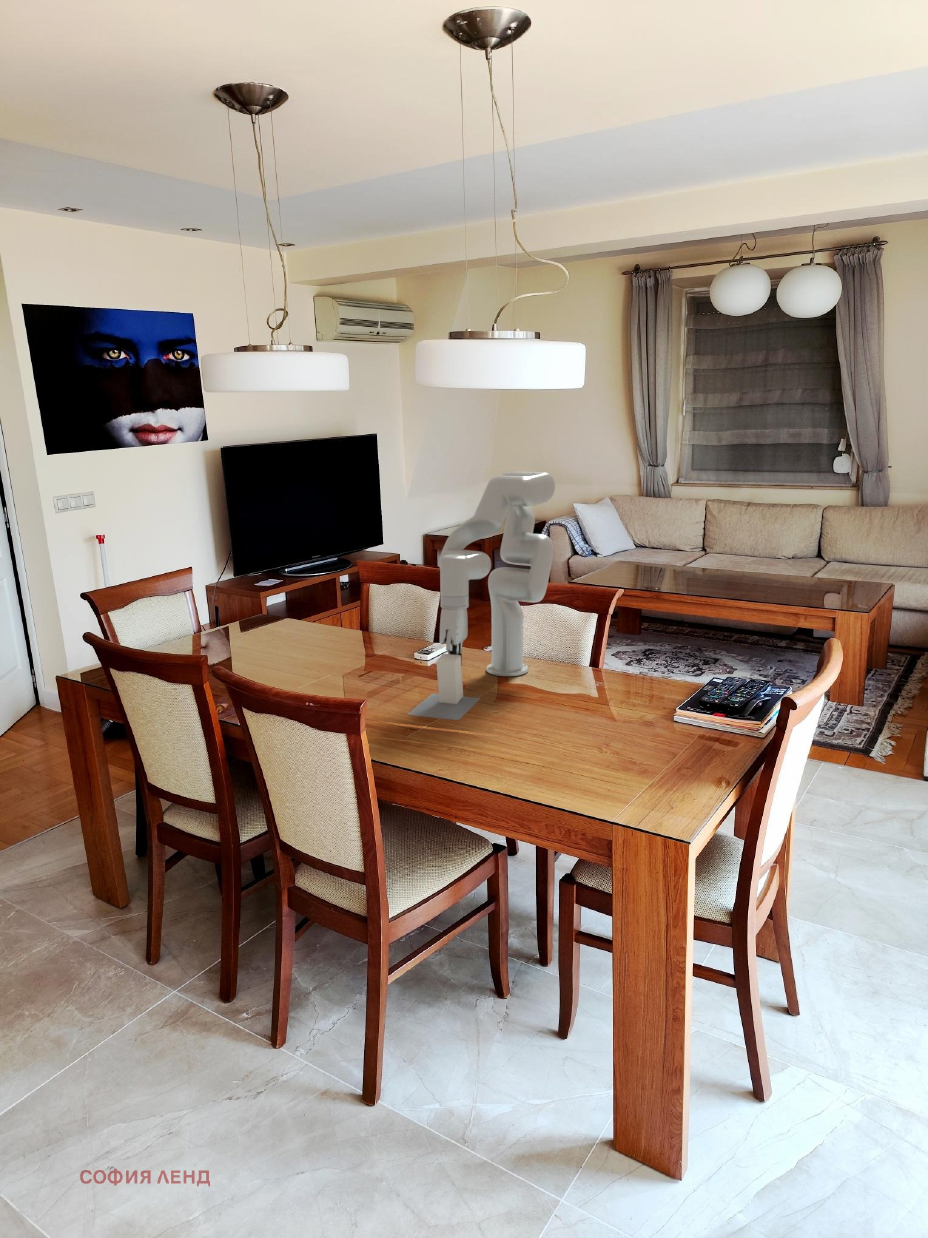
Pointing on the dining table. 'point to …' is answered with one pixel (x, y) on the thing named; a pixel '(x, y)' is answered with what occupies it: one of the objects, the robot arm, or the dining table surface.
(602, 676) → the dining table surface
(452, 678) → the letter block
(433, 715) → the mat
